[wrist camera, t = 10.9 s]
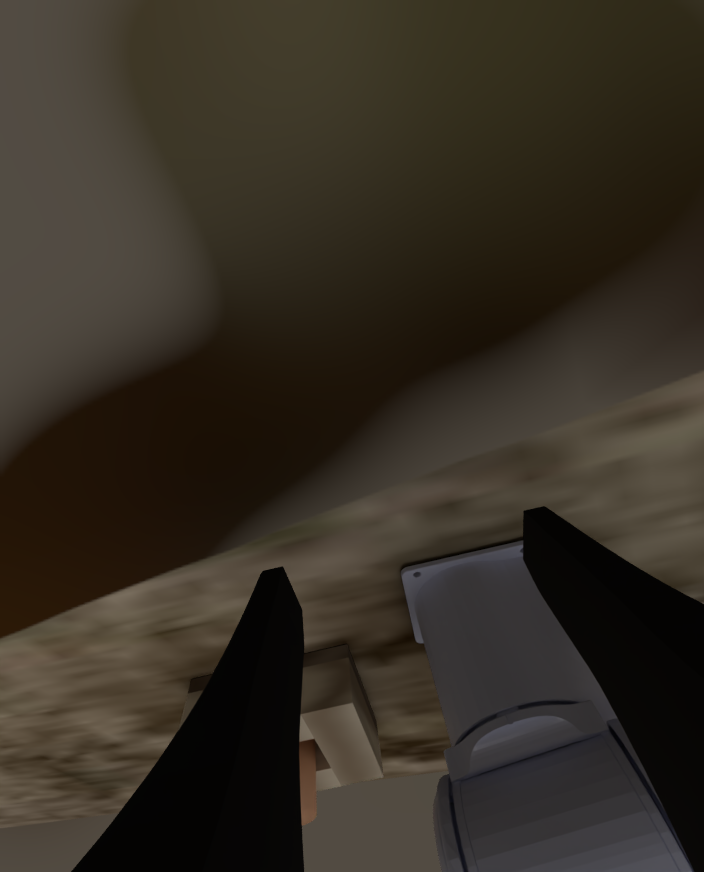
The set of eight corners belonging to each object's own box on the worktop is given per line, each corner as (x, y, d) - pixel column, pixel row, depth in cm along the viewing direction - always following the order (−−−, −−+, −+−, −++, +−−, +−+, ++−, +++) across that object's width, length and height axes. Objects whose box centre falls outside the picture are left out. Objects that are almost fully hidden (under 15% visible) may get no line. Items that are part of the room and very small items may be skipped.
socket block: (347, 644, 29) (352, 702, 25) (376, 721, 35) (383, 776, 31) (191, 679, 29) (175, 742, 25) (246, 749, 35) (239, 808, 31)
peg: (322, 710, 31) (325, 808, 26) (302, 731, 32) (302, 830, 27) (282, 702, 30) (277, 803, 25) (263, 725, 31) (255, 826, 26)
